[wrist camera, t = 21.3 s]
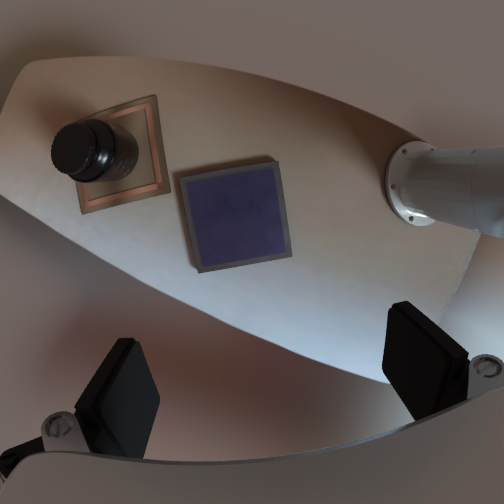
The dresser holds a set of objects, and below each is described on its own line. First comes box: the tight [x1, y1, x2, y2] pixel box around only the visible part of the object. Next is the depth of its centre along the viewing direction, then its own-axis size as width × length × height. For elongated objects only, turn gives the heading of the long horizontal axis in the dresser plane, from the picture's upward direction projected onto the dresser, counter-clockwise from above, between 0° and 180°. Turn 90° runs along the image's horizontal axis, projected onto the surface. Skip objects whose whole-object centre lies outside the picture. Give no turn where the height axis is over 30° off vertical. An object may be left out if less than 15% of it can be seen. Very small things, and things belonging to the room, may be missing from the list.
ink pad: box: [179, 161, 292, 273], centre depth 35 cm, size 12×12×2 cm
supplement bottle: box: [51, 119, 139, 183], centre depth 26 cm, size 7×7×12 cm
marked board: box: [74, 95, 171, 215], centre depth 32 cm, size 13×13×1 cm
